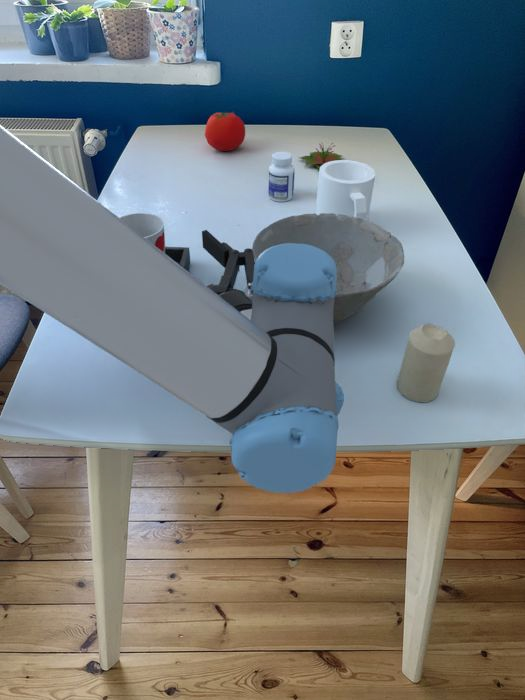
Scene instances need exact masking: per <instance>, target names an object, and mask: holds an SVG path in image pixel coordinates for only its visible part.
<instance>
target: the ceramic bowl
mask: <svg viewBox="0 0 525 700" xmlns="http://www.w3.org/2000/svg"><path fill="white" fill-rule="evenodd" d="M285 243H296V244H307V245H311V246H314V247H317V248H319V249H321V250H323V251H325V252H326V253H327V254H329V255H330V256H331V257H332V259H333V260H334V262H335V264H336V267H337V280H336V288H337V295H336V296H335V300H334V308H333V324H335V323H338V322H340V321H343V320H345V319H346V318H348V317H351V316H353V315H355V314H357V313H358V312H360V311H361V310H363V308H364V307H365V306H367V305H368V304H369V303H370V302H371V301H372V300H373V299H374V298H375V297H376V296H377V294H379V293H380V292H382V290H383V289H385V288H386V287H387V286H388V285H389V284H390V283H391V282H392V281H393V280H394V279H395V278H396V277H397V276H398V275H399V273H400V272H401V271H402V268H403V266H404V264H405V252H404V247H403V245H402V242H401V241H400V240H399V239H398V238H397V236H395V235H392V234H391V232H389V231H387V230H385V229H383V228H382V227H381V226H379V225H377V224H376V223H374V222H371V221H369V220H368V221H366V220H363V219H361V218H356V217H351V218H350V217H349V216H347V215H341V214H338V215H337V216H336V214H333V213H331V214H325V213H321V214H319V215H317V214H315V213H304V214H298V215H290V216H287V217H284V218H281V219H279V220H276V221H274V222H272V223H271V224H269V225H268V226H266V227H264V228H263V229H261V231H259V233H257V235H256V237H255V238H254V240H253V243H252V248H251V249H252V250H253V254H254V260H255V262H256V259H257V258H258V256H259V255H260V254H261V253H262V252H264V251H265V250H266V249H268V248H270V247H273V246H276V245H280V244H285Z"/></svg>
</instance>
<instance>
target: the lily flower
mask: <svg viewBox="0 0 525 700" xmlns="http://www.w3.org/2000/svg"><path fill="white" fill-rule="evenodd" d="M333 144H334V142H332V143H330V145H329V146H328V147H327V148H326V149H325V146H324V144H323V142H321V143H318V145H319V149H320V150H319V149H318V148H317V147H316V148H315V150H316V151H313V152H309V155H303V156H300V157H298V159H301V160H304V161H306V162H305V164H304V167H307V166H311V165H315V167H316V168H317V169H318V170H320V167H321V166H322V165H323V164H325V163H327V162H330V161H335V160H345V159H344V158H342V157H343V155H341V154H338V153H336V152H334V150H333V148H334V147H336V145H333Z"/></svg>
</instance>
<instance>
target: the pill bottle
mask: <svg viewBox="0 0 525 700" xmlns="http://www.w3.org/2000/svg"><path fill="white" fill-rule="evenodd" d="M292 163H293V154H292V153H290V152H288V151H276V152H273V153H272V155H271V164H270V165H269V166H268V198H269V199H270V200H272V201H274V202H279V203H284V202H285V203H286V202H288V201H291V200H292V199H293V198H294V193H295V175H296V174H295V171H296V170H295V166H294V165H293V164H292Z"/></svg>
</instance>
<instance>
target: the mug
mask: <svg viewBox="0 0 525 700" xmlns="http://www.w3.org/2000/svg"><path fill="white" fill-rule="evenodd" d="M318 170H319V171H318V181H317V191H316V203H315V213H314V214H317V215H319V214H321V213H325V214H331V213H333V214H336V216H337V215H338V214H341V215H347V216H349V217H350V218H351V217H356V218H361V219H363V220H366V221H369V216H370V210H371V203H372V197H373V191H374V185H375V179H376V170H375V169H374V168H373V167H372V166H370V165H368V164H366V163H363V162H361V161H356V160H349V159H344V160H335V161H330V162H327V163H325V164H323V165H322V166H321V167H320V169H318Z"/></svg>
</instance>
